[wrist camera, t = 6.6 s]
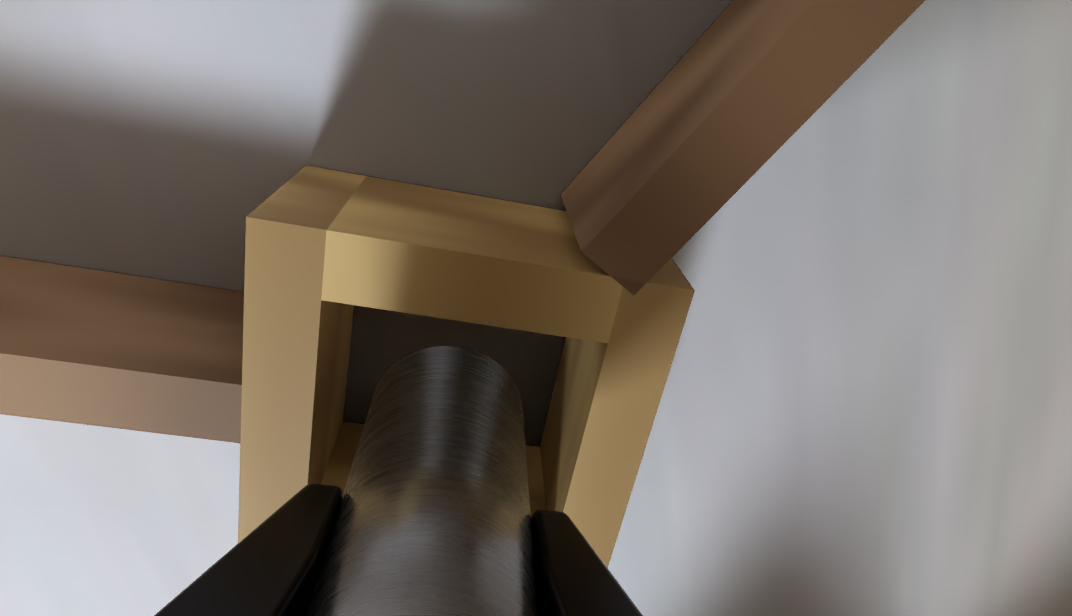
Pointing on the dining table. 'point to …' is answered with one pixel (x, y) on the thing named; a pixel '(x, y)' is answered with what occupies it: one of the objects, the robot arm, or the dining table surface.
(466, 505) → the hinge pin
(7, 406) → the tan piece
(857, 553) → the dining table surface
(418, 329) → the dining table surface
